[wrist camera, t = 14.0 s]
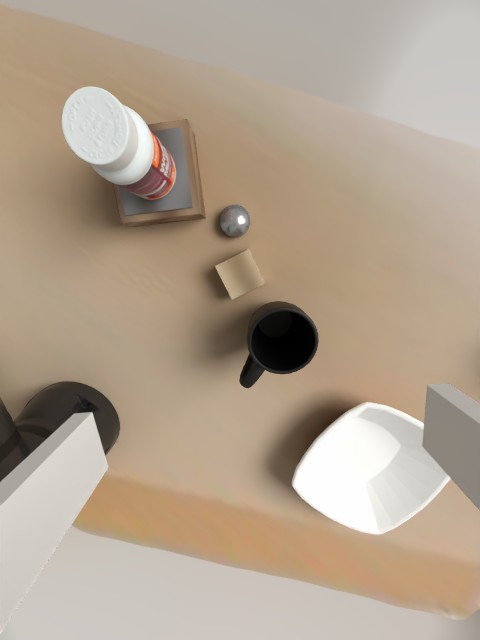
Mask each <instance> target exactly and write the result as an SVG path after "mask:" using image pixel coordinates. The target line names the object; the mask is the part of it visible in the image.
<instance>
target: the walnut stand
mask: <svg viewBox="0 0 480 640" xmlns="http://www.w3.org/2000/svg"><path fill="white" fill-rule="evenodd" d="M148 127H149V128H150V129H151V131H152V132H153V133H154V134H155V136H156V137H157V138H158V139H159V140H160V142H161V143H162V144H163V145H164V147H165V148H166V149H167V150H168V152H169V153H170V155H171V156H172V158H173V161H174V163H175V167H176V178H175V183H174V185H173V187H172V189H171V190H170V192H169V193H168V194H167V195H165V196H164V197H162V198H159V199H155V200H148V199H144V198H141V197H139V196H137V195H135V194H133V193H131V192H130V191H127V190H125V189H124V188H122V187H120V186H118V185H116V184H114V183H113V186H114V191H115V195H116V200H117V205H118V209H119V214H120V219H121V223H122V224H126V225H131V226H135V227H136V226H144V225H152V224H160V223H168V222H176V221H184V220H192V219H200V218H206V217H205V210H204V202H203V195H202V187H201V180H200V173H199V165H198V158H197V151H196V143H195V136H194V133H193V131H192V129H191V126H190V124H189V122H188V120H187V119H184V120H177V121H171V122H164V123H157V124H150V125H148Z"/></svg>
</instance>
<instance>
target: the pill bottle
mask: <svg viewBox="0 0 480 640" xmlns="http://www.w3.org/2000/svg"><path fill="white" fill-rule="evenodd" d="M62 128H63V133H64V136H65V138H66V141H67V143H68V145H69V146H70V148H71V149H72V150H73V152H74V153H75V154H76V155H77V156H78V157H80V158H81V159H82V160H84V161H85V162H87V163H89V164H90V165H91V167H92V168H93V169H94V170H95V171H96V172H97V173H98V174H99V175H100V176H102V177H103V178H105V179H106V180H108V181H110V182H112V183H114V184H116V185H118V186H120V187H122V188H124V189H125V190H127V191H130V192H131V193H133V194H135V195H137V196H139V197H141V198H144V199H148V200H155V199H159V198H162V197H164V196H165V195H167V194H168V193H169V192H170V190H171V189H172V187H173V185H174V183H175V178H176V167H175V163H174V161H173V158H172V156H171V155H170V153H169V152H168V150H167V149H166V148H165V147H164V145H163V144H162V143H161V142H160V140H159V139H158V138H157V137H156V136H155V134H154V133H153V132H152V131H151V129H150V128H149V127H148V125H147V124H146V123H145V121H144V120H143V119H142V118H141V117H140V116H139V115H138V114H137V113H136V112H135V111H133V110H132V109H130V108H129V107H127V106H124V105H122V104H121V103H120V102H119V101H118V100H117V99H116V98H115V97H114V96H113V95H112V94H110V93H109V92H107V91H106V90H103V89H101V88H98V87H84V88H81V89H79V90H77V91H75V92H74V93H73V94H72V95H71V96H70V97H69V98H68V99H67V101H66V103H65V105H64V108H63V112H62Z"/></svg>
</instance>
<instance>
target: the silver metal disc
mask: <svg viewBox="0 0 480 640" xmlns="http://www.w3.org/2000/svg"><path fill="white" fill-rule="evenodd" d="M220 225H221V228H222V230H223V231H224V232H225V233H226V234H227V235H229V236H231V237H240V236H242V235H244V234H245V233H246V232H247V230H248V228H249V225H250V217H249V214H248V212H247V211H246V210H245V209H244V208H243V207H242V206H239V205H230V206H228V207H226V208H225V209H224V210H223V212H222V214H221V216H220Z"/></svg>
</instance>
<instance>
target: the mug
mask: <svg viewBox="0 0 480 640" xmlns="http://www.w3.org/2000/svg"><path fill="white" fill-rule="evenodd" d="M247 343H248V350H249V352H250V354H249V356H248V358H247V360H246V363H245V365H244V367H243V370H242V372H241V375H240V380H239V381H240V384H241V385H242V386H243V387H245V388H250V387H251V386H252V385H253V384H254V383H255V382H256V381H257V380H258V379H259V377H260V376H261V375H262V373H263V372H264V371H265V370H266V371H269V372H272V373H276V374H289V373H292V372H296V371H298V370H300V369H302V368H303V367H305V366H306V365H307V364H308V363H309V362H310V361H311V360H312V358H313V357H314V355H315V353H316V350H317V347H318V332H317V329H316V326H315V325H314V323H313V321H312V320H311V319H310V318H309V317H308V316H307V315H306V314H305V313H304V311H302V310H301V309H300V308H298V307H297V306H295V305H293V304H290V303H287V302H281V301H277V302H271V303H268V304H265V305H264V306H262V307H261V308H260V309H258V310H257V311H256V313H255V314H254V315H253V317H252V319H251V321H250V324H249V327H248V335H247Z"/></svg>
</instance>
